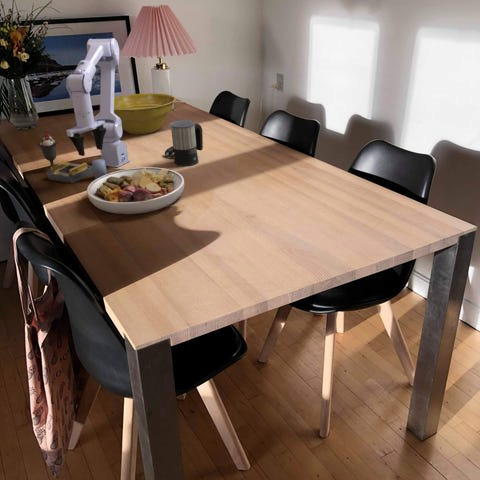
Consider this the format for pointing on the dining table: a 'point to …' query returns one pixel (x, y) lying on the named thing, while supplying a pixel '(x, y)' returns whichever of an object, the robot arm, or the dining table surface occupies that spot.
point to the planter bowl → (143, 111)
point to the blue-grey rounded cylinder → (99, 168)
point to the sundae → (48, 149)
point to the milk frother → (185, 142)
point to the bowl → (136, 190)
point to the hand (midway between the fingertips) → (90, 152)
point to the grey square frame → (75, 172)
